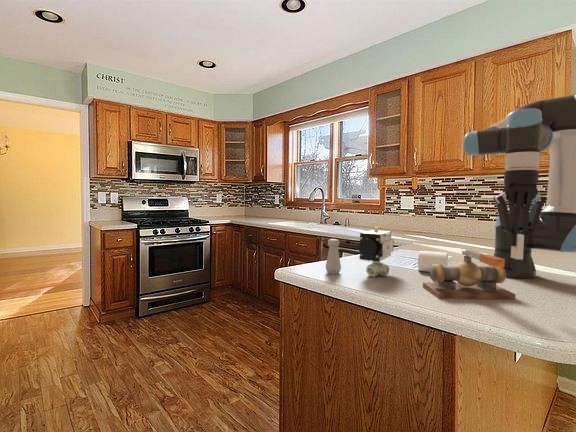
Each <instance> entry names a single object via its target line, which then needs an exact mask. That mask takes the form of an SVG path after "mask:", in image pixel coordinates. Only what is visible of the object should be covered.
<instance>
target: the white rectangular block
mask: <svg viewBox="0 0 576 432" xmlns="http://www.w3.org/2000/svg"><path fill="white" fill-rule="evenodd" d="M448 263H449V253H448V252H442V251H428V250H419V252H418V258H417V268H418V272H424V273H430V267H431V266H432V264H441V265H442V266H449V265H448Z"/></svg>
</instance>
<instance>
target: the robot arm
mask: <svg viewBox="0 0 576 432" xmlns="http://www.w3.org/2000/svg"><path fill="white" fill-rule="evenodd" d="M462 143H463V150H464V152H465V154H466V155H467V156H486V155H487V156H488V155H495V154H496V155H497V154H505V158H504V159H505V160H504V169H506V170H505V172H504V174H503V175H504V176H503V177H504V178H503V184H504V186H503V187H504V188H503V189H502V193H500V194H498V195H495V196H493V198H492V199H493V201H494V202H495V204H496V208H497V212H498V216H497V217H496V221H495V226H494V228H495V233H494V234H495V237H494V239H495V240H494V253H493V254H492V255H493V256H496V257H499V258H502V259H505V264H504V269H505V271H506V278H513V279H533V278H536V277H537V269H536V266H535V263H534V259H533V257H532V249H534V250H543V251H551V252H560V253H576V94H571V95H566V96H561V97H555V98H548V99H542V100H538V101H534V102H530V103H528V104H525V105H523V106H520V107H519V108H515V110H513V111H511V112H509V113H508V114H507V115H506V116H505V118H504V119H501V120H500V121H497V122H496V123H494V124H492V125H490V126H488V127H486V128H485V129H482V130H474V131H469V132H467V133H465V135H464V137H463V142H462ZM549 148H550V158H549V168H548V181H547V193H546V194H547V195H546V196H544V195H541V194H540V193H539V190H538V187H537V185H538V184H539V175H540V172H539V171H538V170H537V169H539V168H540V159H541V158H540V157H541V156H540V154H541V152H544V151H546V150H548V149H549ZM506 201H507V202H506ZM507 203H508V204H507ZM545 203H546V205H545V208H543V206H544V204H545ZM488 266H491V265H488Z"/></svg>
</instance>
